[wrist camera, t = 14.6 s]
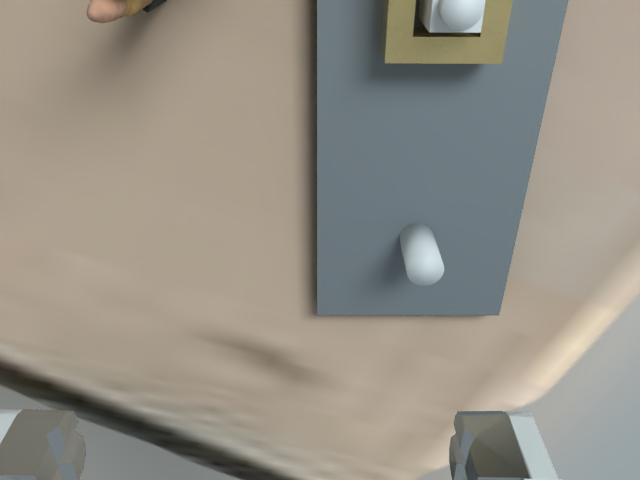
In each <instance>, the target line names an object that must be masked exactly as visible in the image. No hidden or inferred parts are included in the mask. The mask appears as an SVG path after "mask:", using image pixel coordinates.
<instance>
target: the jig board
mask: <svg viewBox="0 0 640 480" xmlns="http://www.w3.org/2000/svg"><path fill="white" fill-rule="evenodd" d="M485 1H486V0H416V5H415V17H414V27H426V29H427V30H428V31H429V32H442V33H481V28H482V21H483V15H484V8H485ZM383 4H384V0H317V315H499V313H500V309H501V304H502V300H503V295H504V290H505V286H506V281H507V277H508V272H509V268H510V263H511V259H512V254H513V249H514V245H515V240H516V236H517V231H518V227H519V222H520V218H521V213H522V209H523V204H524V199H525V195H526V190H527V186H528V181H529V177H530V172H531V168H532V163H533V158H534V154H535V149H536V145H537V140H538V136H539V131H540V127H541V122H542V117H543V113H544V108H545V104H546V99H547V95H548V90H549V86H550V81H551V77H552V72H553V67H554V63H555V58H556V54H557V49H558V45H559V40H560V36H561V31H562V26H563V22H564V17H565V13H566V8H567V4H568V0H513V2H512V8H511V14H510V20H509V25H508V31H507V37H506V43H505V49H504V54H503V60H502V64H421V63H384V60H383V57H382V54H381V37H382V20H383Z"/></svg>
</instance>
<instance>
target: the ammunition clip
mask: <svg viewBox="0 0 640 480" xmlns="http://www.w3.org/2000/svg"><path fill="white" fill-rule="evenodd" d="M165 1H166V0H91V2H90V4H89V5H88V8H87V16H88V18H89V19H90V20H92V21H94V22H98V23H106V22H111V21H114V20H116V19H118V18H121V17H123V16H130V15H134V14H135V13H137V12H138V11H140V10H141V9H143V10H145V11H146V12H149V11H151V10H152V9H154V8H156V7H157V6H159V5H160V4H162V3H163V2H165Z"/></svg>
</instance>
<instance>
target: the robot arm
mask: <svg viewBox="0 0 640 480" xmlns="http://www.w3.org/2000/svg"><path fill="white" fill-rule="evenodd" d="M77 423H78V421H77V418H76V415H75V413H74V411H60V410H24V409H23V410H21V409H0V480H79V479H80V476H81V473H82V471H83V467H84V462H85V455H86V449H85V442H84V439H83V436H82V435H80V434H79V433H78V432H77V431H75V428H76V425H77ZM454 427H455V431H456V434H455V435H453V436H452V437H451V441H450V447H449V462H450V469H451V475H452V480H566V479H558V477H557V475H556V472H555V470H554V467H553V465H552V463H551V460H550V458H549V455H548V453H547V450H546V448H545V446H544V443H543V440H542V438H541V436H540V433H539V431H538V428H537V426H536V423H535V421H534V419H533V416H532V415H531V414H530V413H529V412H503V411H464V412H457V414H456V415H455V420H454Z"/></svg>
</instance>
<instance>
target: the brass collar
mask: <svg viewBox="0 0 640 480" xmlns="http://www.w3.org/2000/svg"><path fill="white" fill-rule="evenodd" d="M512 2H513V0H486V1H485V8H484V15H483V21H482V28H481V33H442V32H429V31H428V30H427V29H426V27H414V17H415V5H416V0H384V4H383V20H382V37H381V54H382V57H383V60H384V63H421V64H502V60H503V54H504V49H505V43H506V37H507V31H508V25H509V20H510V14H511V8H512Z"/></svg>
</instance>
